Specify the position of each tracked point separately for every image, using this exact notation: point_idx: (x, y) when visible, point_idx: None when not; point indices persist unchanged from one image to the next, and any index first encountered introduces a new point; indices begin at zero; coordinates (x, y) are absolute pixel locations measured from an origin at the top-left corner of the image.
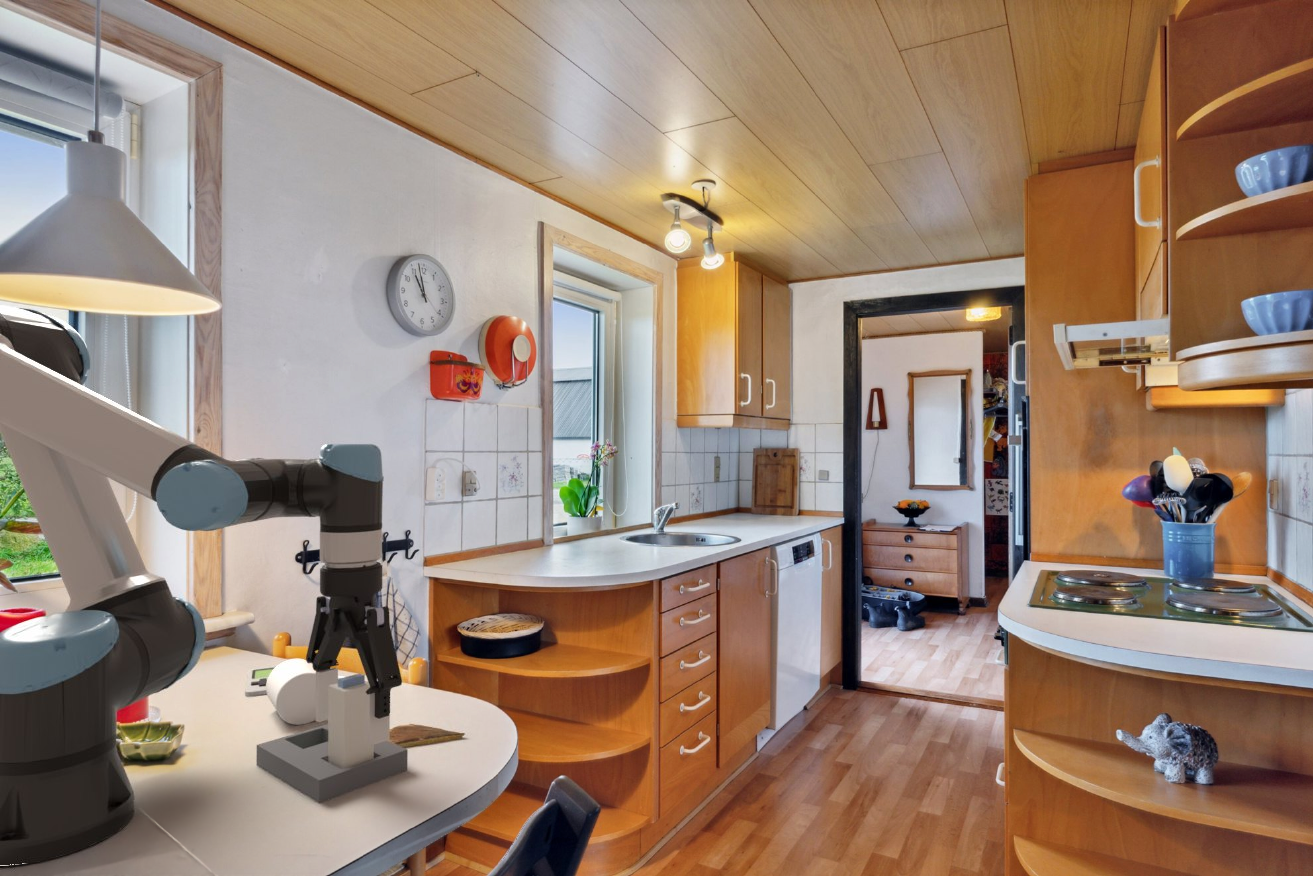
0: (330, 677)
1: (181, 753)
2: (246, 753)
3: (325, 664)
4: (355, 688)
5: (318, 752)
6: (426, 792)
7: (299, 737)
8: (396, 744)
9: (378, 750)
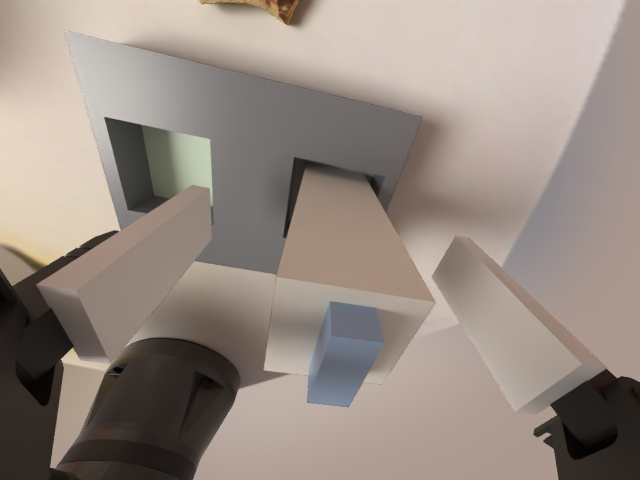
0: (123, 294)
1: (6, 247)
2: (69, 201)
3: (29, 359)
4: (393, 358)
5: (254, 222)
6: (488, 164)
7: (124, 176)
8: (288, 8)
9: (358, 158)
